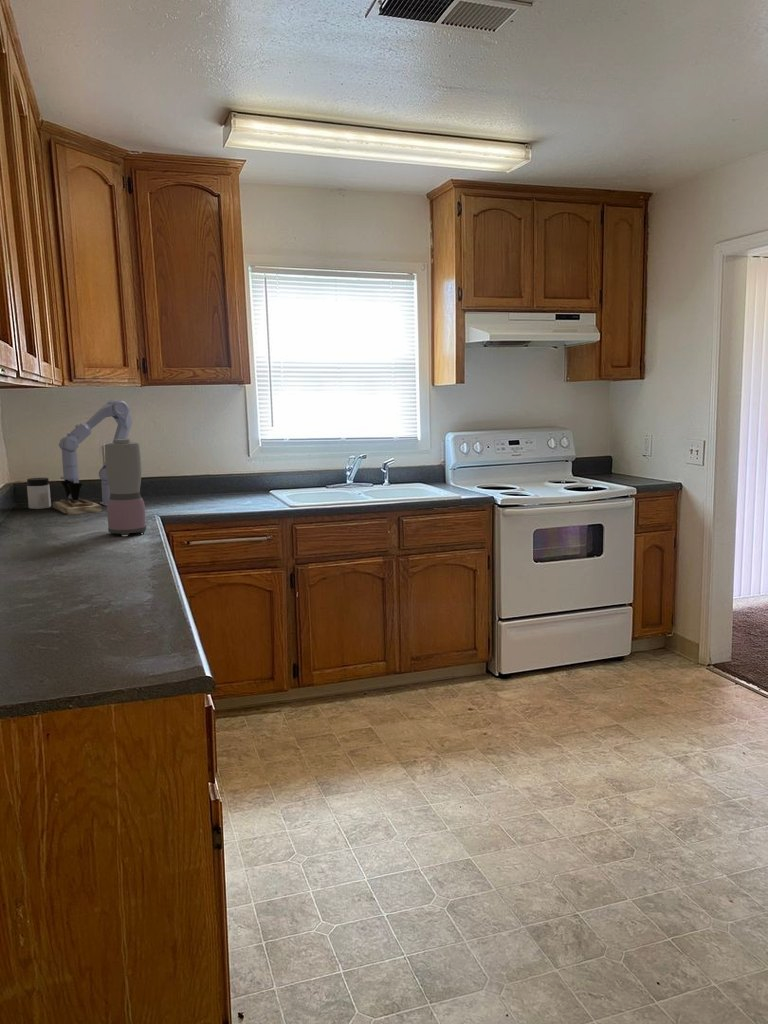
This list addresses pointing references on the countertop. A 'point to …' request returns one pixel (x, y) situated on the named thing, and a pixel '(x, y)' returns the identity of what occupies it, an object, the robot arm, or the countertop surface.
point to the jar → (38, 493)
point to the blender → (124, 487)
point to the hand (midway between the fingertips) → (72, 498)
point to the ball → (71, 499)
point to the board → (77, 506)
